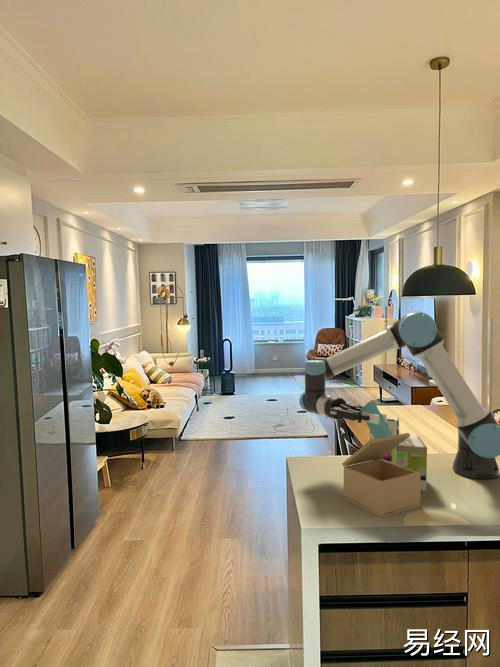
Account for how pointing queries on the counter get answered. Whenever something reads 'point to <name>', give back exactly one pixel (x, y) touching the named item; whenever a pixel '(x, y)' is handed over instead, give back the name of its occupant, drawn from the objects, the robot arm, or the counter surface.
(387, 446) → the carton lid
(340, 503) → the counter surface
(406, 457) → the tea box
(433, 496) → the counter surface
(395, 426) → the candy bar box
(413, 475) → the carton
